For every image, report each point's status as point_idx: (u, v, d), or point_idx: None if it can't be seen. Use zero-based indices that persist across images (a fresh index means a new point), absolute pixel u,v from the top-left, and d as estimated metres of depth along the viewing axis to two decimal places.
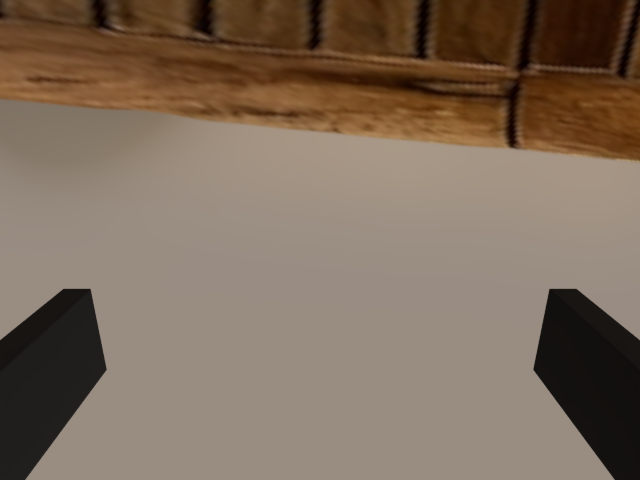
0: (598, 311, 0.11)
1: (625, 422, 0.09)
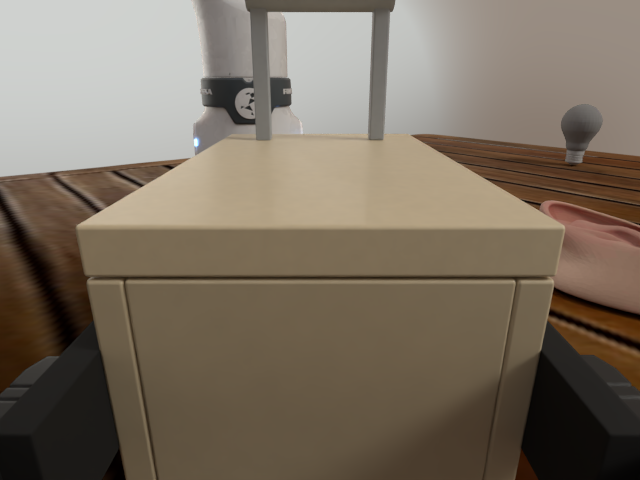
0: None
1: None
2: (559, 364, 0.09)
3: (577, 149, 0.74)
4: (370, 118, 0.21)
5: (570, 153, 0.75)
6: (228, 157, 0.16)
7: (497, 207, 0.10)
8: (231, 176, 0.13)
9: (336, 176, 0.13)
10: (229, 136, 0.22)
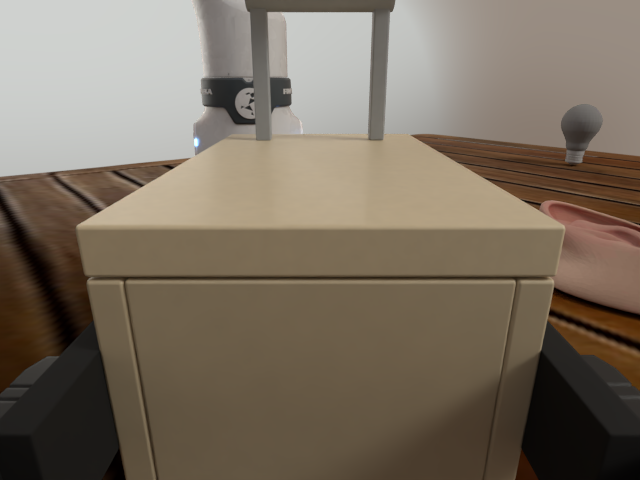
0: None
1: None
2: (559, 364, 0.09)
3: (577, 149, 0.74)
4: (370, 118, 0.21)
5: (570, 153, 0.75)
6: (228, 157, 0.16)
7: (497, 207, 0.10)
8: (231, 176, 0.13)
9: (336, 176, 0.13)
10: (229, 136, 0.22)
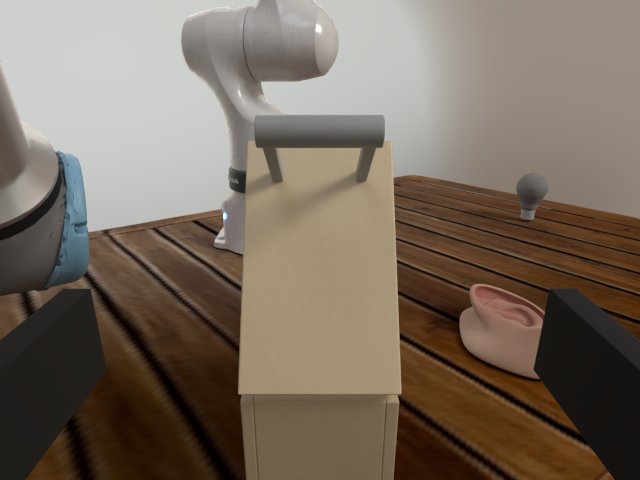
0: (598, 311, 0.11)
1: (624, 422, 0.09)
2: None
3: (529, 209, 0.91)
4: (357, 174, 0.27)
5: (523, 211, 0.92)
6: (265, 258, 0.27)
7: (385, 372, 0.26)
8: (276, 313, 0.26)
9: (327, 313, 0.26)
10: (248, 157, 0.29)
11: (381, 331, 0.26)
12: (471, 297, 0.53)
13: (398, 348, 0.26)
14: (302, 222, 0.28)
